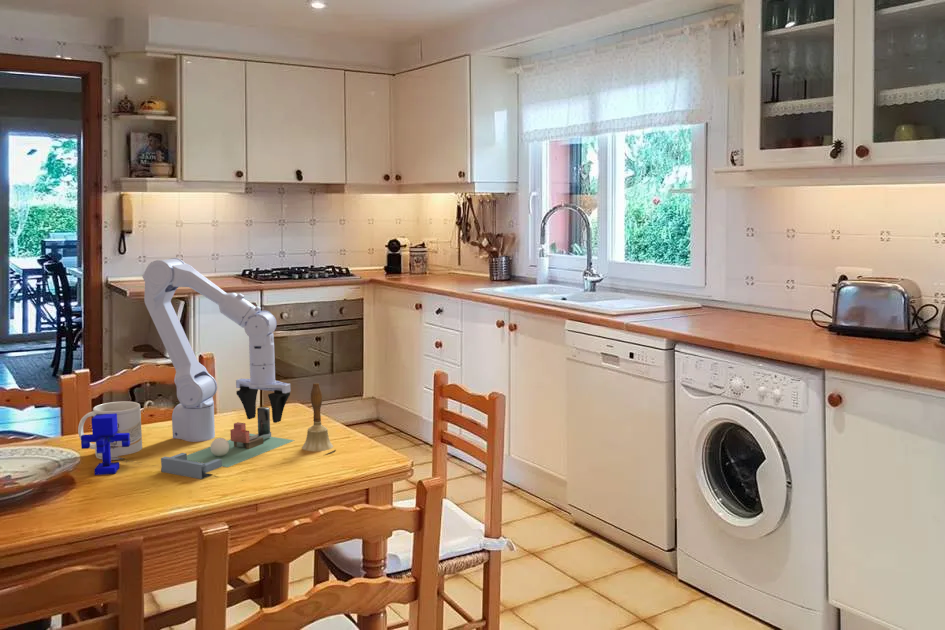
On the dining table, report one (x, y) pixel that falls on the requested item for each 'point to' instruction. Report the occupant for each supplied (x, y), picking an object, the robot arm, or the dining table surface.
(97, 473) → the figurine
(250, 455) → the mat
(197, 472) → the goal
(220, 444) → the ball
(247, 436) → the kicker rod
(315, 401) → the hand bell
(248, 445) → the rail guides
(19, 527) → the dining table surface
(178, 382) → the robot arm
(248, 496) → the dining table surface
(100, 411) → the mug
